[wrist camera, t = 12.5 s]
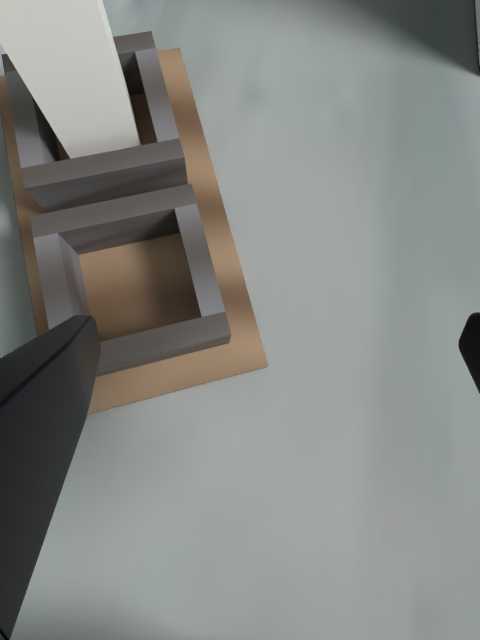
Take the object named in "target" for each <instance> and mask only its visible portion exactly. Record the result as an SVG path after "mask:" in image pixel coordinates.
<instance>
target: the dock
mask: <svg viewBox="0 0 480 640" xmlns="http://www.w3.org/2000/svg"><path fill="white" fill-rule="evenodd" d="M113 40H114V43H115V47H116V50H117V54H118V57H119V61H120V64H121V68H122V71H123V75H124V78H125V82H126V85H127V89H128V92H129V96H130V99H131V103H132V106H133V110H134V114H135V119H136V123H137V127H138V132H139V136H140V140H141V146H135V147H130V148H125V149H119V150H114V151H109V152H104V153H98V154H93V155H88V156H83V157H77V158H72V159H70V157H69V155H68V154H67V152H66V151H65V149H64V147H63V146H62V144H61V142H60V141H59V139H58V137H57V136H56V134H55V132H54V131H53V129H52V127H51V126H50V124H49V122H48V121H47V119H46V118H45V116H44V114H43V113H42V111H41V109H40V108H39V106H38V104H37V103H36V101H35V99H34V98H33V96H32V94H31V93H30V91H29V89H28V88H27V86H26V84H25V83H24V81H23V80H22V78H21V76H20V75H19V73H18V71H17V70H16V68H15V66H14V65H13V63H12V61H11V60H10V58H9V56H8V55H7V54H2V60H3V66H4V72H5V76H3V77H0V115H1V121H2V127H3V133H4V139H5V145H6V151H7V157H8V163H9V169H10V175H11V181H12V187H13V193H14V199H15V205H16V211H17V217H18V223H19V229H20V235H21V241H22V247H23V253H24V259H25V265H26V271H27V277H28V283H29V289H30V295H31V301H32V307H33V313H34V319H35V325H36V331H37V337H38V336H40V335H41V334H43V333H45V332H47V331H48V330H50V329H52V328H54V327H55V326H57V325H59V324H60V323H62V322H64V321H66V320H67V319H69V318H71V317H72V316H75V315H91V316H93V317H94V319H95V321H96V325H97V330H98V335H99V339H100V344H101V354H100V359H99V364H98V369H97V374H96V379H95V384H94V388H93V393H92V398H91V402H90V407H89V411H88V414H92V413H96V412H100V411H103V410H107V409H111V408H115V407H118V406H122V405H126V404H130V403H134V402H137V401H141V400H145V399H149V398H152V397H156V396H160V395H164V394H167V393H171V392H175V391H179V390H183V389H186V388H190V387H194V386H198V385H201V384H205V383H209V382H213V381H216V380H220V379H224V378H228V377H232V376H235V375H239V374H243V373H247V372H250V371H254V370H258V369H262V368H266V367H267V366H268V363H267V360H266V356H265V353H264V349H263V345H262V342H261V338H260V335H259V331H258V327H257V324H256V320H255V317H254V313H253V310H252V306H251V302H250V299H249V295H248V292H247V288H246V284H245V281H244V277H243V274H242V270H241V266H240V263H239V259H238V256H237V252H236V249H235V245H234V241H233V238H232V234H231V231H230V227H229V223H228V220H227V216H226V213H225V209H224V205H223V202H222V198H221V195H220V191H219V188H218V184H217V180H216V177H215V173H214V170H213V166H212V162H211V159H210V155H209V152H208V148H207V144H206V141H205V137H204V134H203V130H202V126H201V123H200V119H199V116H198V112H197V109H196V105H195V101H194V98H193V94H192V91H191V87H190V83H189V80H188V76H187V73H186V69H185V65H184V62H183V58H182V55H181V51H180V48H175V49H169V50H162V51H156V47H155V43H154V40H153V36H152V32H151V31H149V32H143V33H136V34H130V35H124V36H117V37H113ZM88 414H87V415H88Z"/></svg>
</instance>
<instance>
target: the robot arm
mask: <svg viewBox="0 0 480 640" xmlns="http://www.w3.org/2000/svg"><path fill="white" fill-rule="evenodd" d="M459 350H460V352H461V354H462V357H463V359H464V361H465V363H466V365H467V367H468V369H469V372H470V374H471V376H472V378H473V380H474V382H475V384H476V387H477V389H478V391H479V393H480V312H477V313H473V314H471V315H470V316H469V318H468V320H467V322H466V325H465V327H464V329H463V332H462V334H461V336H460V339H459ZM100 354H101V344H100V339H99V335H98V330H97V325H96V321H95V319H94V317H93V316H91V315H75V316H72V317H71V318H69V319H67V320H66V321H64V322H62V323H60V324H59V325H57V326H55V327H54V328H52V329H50V330H48V331H47V332H45V333H43V334H41V335H40V336H38V337H36V338H35V339H33V340H31V341H29V342H28V343H26V344H24V345H23V346H21V347H19V348H17V349H16V350H14V351H12V352H11V353H9V354H7V355H5V356H4V357H2V358H0V640H10V637H11V634H12V631H13V628H14V626H15V623H16V620H17V617H18V614H19V611H20V608H21V605H22V602H23V600H24V597H25V594H26V591H27V588H28V585H29V582H30V579H31V576H32V573H33V571H34V568H35V565H36V562H37V559H38V556H39V553H40V550H41V547H42V545H43V542H44V539H45V536H46V533H47V530H48V527H49V524H50V521H51V519H52V516H53V513H54V510H55V507H56V504H57V501H58V498H59V495H60V493H61V490H62V487H63V484H64V481H65V478H66V475H67V472H68V469H69V466H70V464H71V461H72V458H73V455H74V452H75V449H76V446H77V443H78V440H79V438H80V435H81V432H82V429H83V426H84V423H85V420H86V417H87V414H88V411H89V407H90V402H91V398H92V393H93V388H94V384H95V379H96V374H97V369H98V364H99V359H100Z"/></svg>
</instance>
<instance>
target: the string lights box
mask: <svg viewBox="0 0 480 640" xmlns="http://www.w3.org/2000/svg"><path fill="white" fill-rule="evenodd" d="M475 9H476V23H477V37H478V51H479V64H480V0H475Z"/></svg>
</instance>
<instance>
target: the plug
mask: <svg viewBox="0 0 480 640" xmlns="http://www.w3.org/2000/svg"><path fill="white" fill-rule="evenodd" d="M0 43H1V45H2V47H3V48H4V50H5V51H6V53H7V55H8V56H9V58H10V60H11V61H12V63H13V65H14V66H15V68H16V70H17V71H18V73H19V75H20V76H21V78H22V80H23V81H24V83H25V84H26V86H27V88H28V89H29V91H30V93H31V94H32V96H33V98H34V99H35V101H36V103H37V104H38V106H39V108H40V109H41V111H42V113H43V114H44V116H45V118H46V119H47V121H48V122H49V124H50V126H51V127H52V129H53V131H54V132H55V134H56V136H57V137H58V139H59V141H60V142H61V144H62V146H63V147H64V149H65V151H66V152H67V154H68V155H69V157H70V159H72V158H77V157H83V156H88V155H93V154H98V153H104V152H109V151H114V150H119V149H125V148H130V147H135V146H141V140H140V136H139V132H138V127H137V123H136V119H135V114H134V110H133V106H132V103H131V99H130V96H129V92H128V89H127V85H126V82H125V78H124V75H123V71H122V68H121V64H120V61H119V57H118V54H117V50H116V47H115V43H114V40H113V36H112V33H111V29H110V26H109V22H108V19H107V15H106V12H105V8H104V5H103V1H102V0H0Z"/></svg>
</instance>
